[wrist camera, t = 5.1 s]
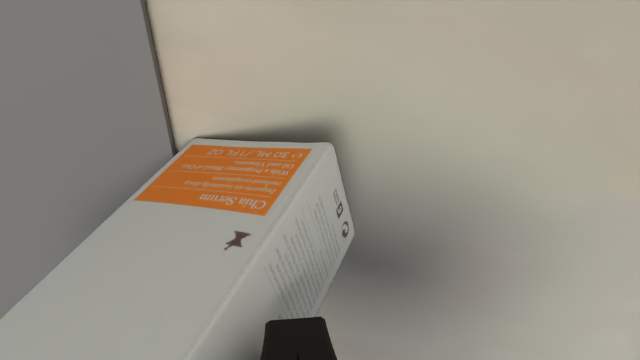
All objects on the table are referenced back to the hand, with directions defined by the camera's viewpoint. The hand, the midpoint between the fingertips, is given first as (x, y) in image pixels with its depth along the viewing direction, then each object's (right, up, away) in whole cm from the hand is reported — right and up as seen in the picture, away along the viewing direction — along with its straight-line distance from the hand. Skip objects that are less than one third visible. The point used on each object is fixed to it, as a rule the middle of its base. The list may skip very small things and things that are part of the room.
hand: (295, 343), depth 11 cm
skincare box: (-1, +4, +6) cm, 7 cm away
